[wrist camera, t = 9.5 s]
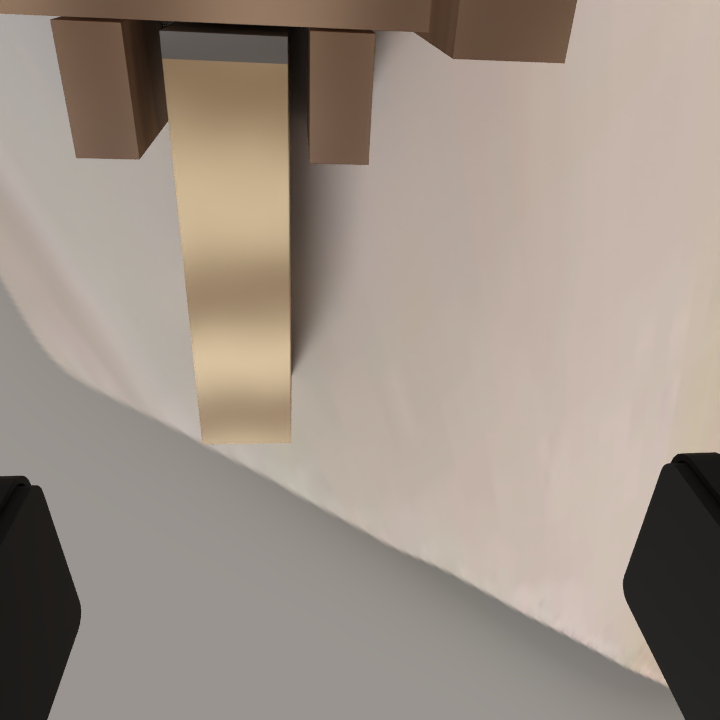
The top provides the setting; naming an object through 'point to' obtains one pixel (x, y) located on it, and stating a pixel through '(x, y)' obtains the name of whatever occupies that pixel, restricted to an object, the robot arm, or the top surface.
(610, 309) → the top surface
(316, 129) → the headboard
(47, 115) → the top surface
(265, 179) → the rail
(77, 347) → the top surface
